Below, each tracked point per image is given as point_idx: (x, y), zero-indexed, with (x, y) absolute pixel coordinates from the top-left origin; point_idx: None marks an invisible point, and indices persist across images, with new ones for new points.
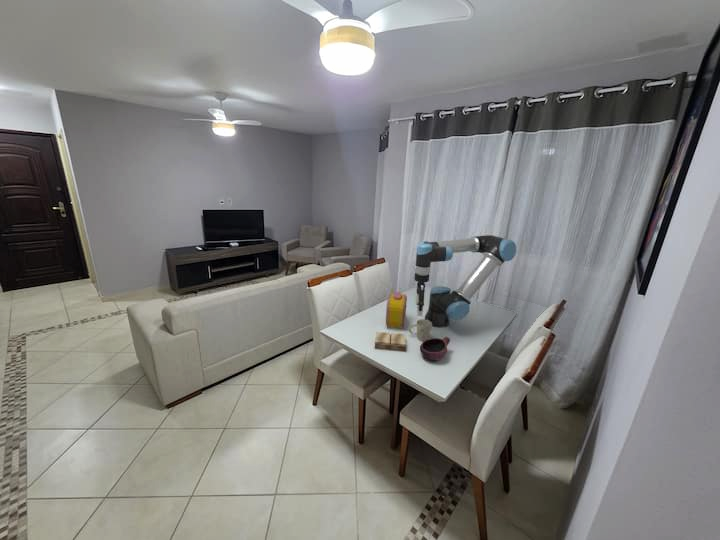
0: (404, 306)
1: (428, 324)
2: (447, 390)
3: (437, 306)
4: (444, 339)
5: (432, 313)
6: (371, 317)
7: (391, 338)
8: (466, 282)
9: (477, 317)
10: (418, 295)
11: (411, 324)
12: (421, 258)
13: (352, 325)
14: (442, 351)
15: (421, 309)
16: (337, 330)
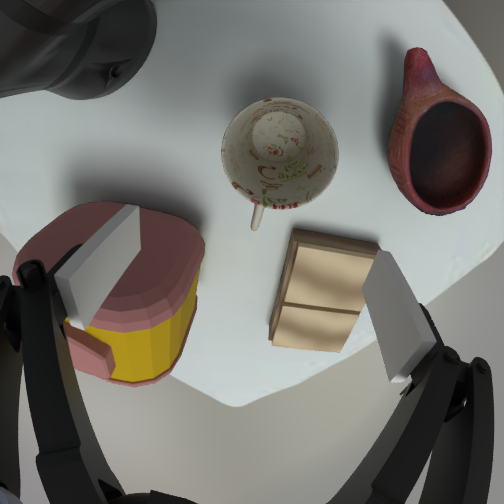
0: (155, 311)
1: (253, 111)
2: None
3: (75, 31)
4: (427, 80)
5: (88, 64)
6: None
7: (328, 306)
8: None
9: None
10: (84, 305)
11: (256, 226)
12: None
13: (193, 368)
14: (491, 143)
15: (429, 321)
16: (229, 394)
